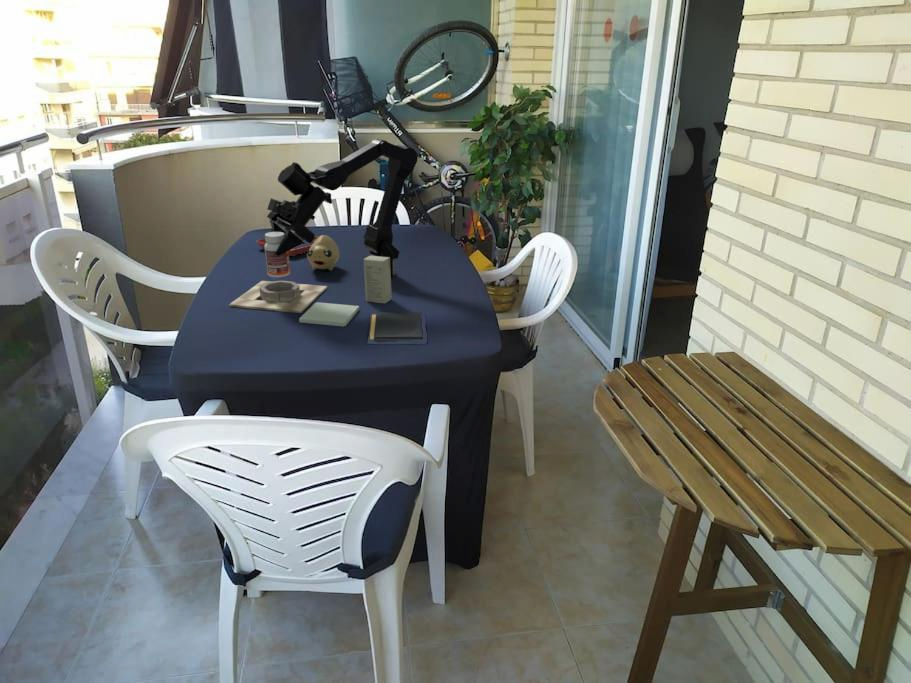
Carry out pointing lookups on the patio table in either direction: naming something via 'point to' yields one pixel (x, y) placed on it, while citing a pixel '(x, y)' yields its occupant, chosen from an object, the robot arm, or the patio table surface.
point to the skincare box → (377, 279)
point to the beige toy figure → (323, 253)
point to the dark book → (395, 326)
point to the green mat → (329, 314)
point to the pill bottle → (274, 263)
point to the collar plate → (279, 296)
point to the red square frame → (291, 252)
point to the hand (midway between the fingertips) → (271, 251)
